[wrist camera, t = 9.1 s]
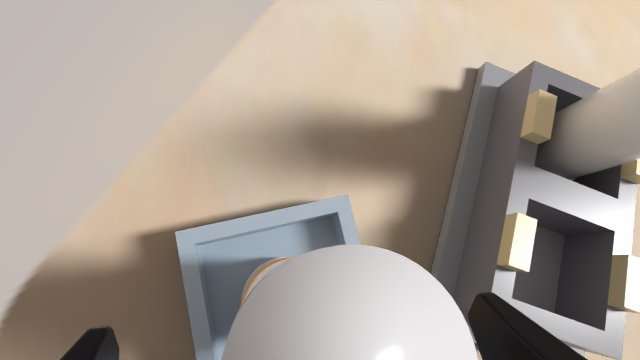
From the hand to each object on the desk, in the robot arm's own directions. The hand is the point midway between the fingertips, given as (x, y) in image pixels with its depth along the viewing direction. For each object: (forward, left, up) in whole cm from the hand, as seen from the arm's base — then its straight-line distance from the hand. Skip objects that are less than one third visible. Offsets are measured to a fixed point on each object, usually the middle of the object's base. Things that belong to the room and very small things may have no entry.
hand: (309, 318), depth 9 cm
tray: (0, 0, -10) cm, 10 cm away
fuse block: (+1, -15, -10) cm, 18 cm away
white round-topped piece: (0, 0, -9) cm, 9 cm away
